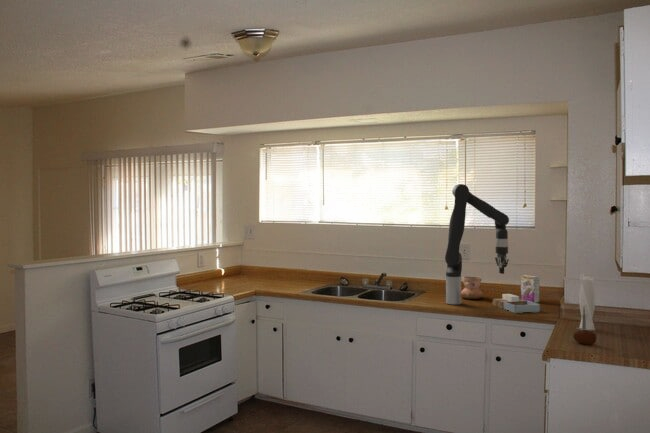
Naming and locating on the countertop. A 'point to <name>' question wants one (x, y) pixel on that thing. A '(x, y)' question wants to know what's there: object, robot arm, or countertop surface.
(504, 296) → the tile
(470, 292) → the ceramic jug
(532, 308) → the tray
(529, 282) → the candy bar box
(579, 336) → the potato
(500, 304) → the board
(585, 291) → the white statue
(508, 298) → the tile
